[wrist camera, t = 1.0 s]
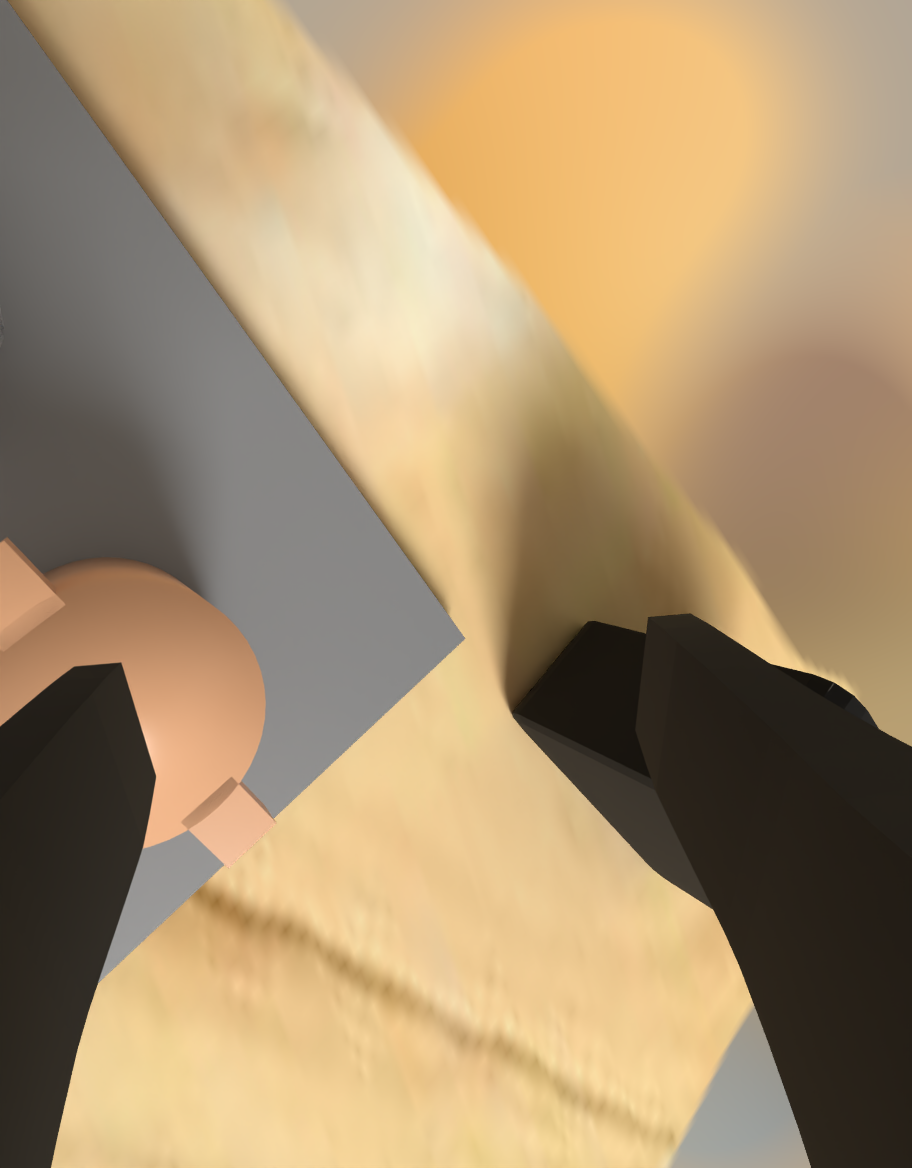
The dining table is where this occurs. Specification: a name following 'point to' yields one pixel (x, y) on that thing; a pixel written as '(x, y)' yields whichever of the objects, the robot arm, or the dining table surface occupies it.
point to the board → (182, 459)
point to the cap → (148, 682)
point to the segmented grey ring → (1, 328)
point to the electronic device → (620, 739)
